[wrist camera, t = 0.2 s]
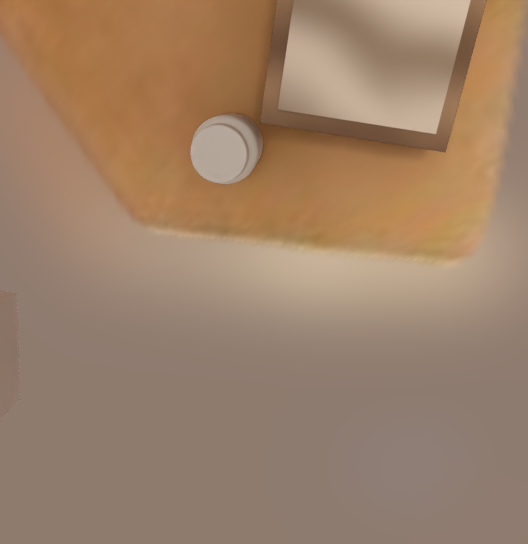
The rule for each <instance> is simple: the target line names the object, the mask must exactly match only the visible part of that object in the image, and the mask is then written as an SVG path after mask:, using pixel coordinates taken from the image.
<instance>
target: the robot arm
mask: <svg viewBox="0 0 528 544" xmlns="http://www.w3.org/2000/svg"><path fill="white" fill-rule="evenodd" d="M18 349H19V348H18V320H17V294H16V293H11V292H5V291H0V420H1V419H2V418H3V417H4V416H5V415H6V414H7V413H8V412H9V410H10V409H11V408H12V407H13V406H14V405H15V404H16V403H17V402H18V401H19V400H20V379H19V350H18Z"/></svg>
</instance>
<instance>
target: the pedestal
mask: <svg viewBox="0 0 528 544" xmlns="http://www.w3.org/2000/svg"><path fill="white" fill-rule="evenodd" d="M486 1H487V0H277V3H276V10H275V17H274V25H273V32H272V39H271V46H270V54H269V61H268V68H267V75H266V83H265V90H264V97H263V104H262V112H261V119H260V123H262V124H269V125H275V126H281V127H288V128H294V129H300V130H307V131H313V132H319V133H326V134H332V135H339V136H345V137H351V138H358V139H364V140H370V141H377V142H383V143H389V144H396V145H402V146H408V147H415V148H421V149H428V150H434V151H440V152H446V149H447V145H448V141H449V138H450V134H451V130H452V127H453V123H454V119H455V116H456V112H457V108H458V104H459V101H460V97H461V93H462V90H463V86H464V82H465V78H466V75H467V71H468V67H469V64H470V60H471V56H472V53H473V49H474V45H475V41H476V38H477V34H478V30H479V27H480V23H481V19H482V15H483V12H484V8H485V4H486Z"/></svg>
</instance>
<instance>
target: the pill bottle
mask: <svg viewBox="0 0 528 544" xmlns="http://www.w3.org/2000/svg"><path fill="white" fill-rule="evenodd" d="M262 151H263V138H262V135H261V132H260V130H259V128H258V127H257V125H256V124H255V123H254V122H253V121H252V120H251V119H249V118H248V117H246V116H244V115H241V114H236V113H230V114H223V115H218V116H214V117H212V118H209V119H207V120H206V121H204V122H203V123H202V124H201V125H200V126H199V127H198V129H197V130H196V132H195V134H194V136H193V139H192V144H191V151H190V153H191V161H192V164H193V166H194V168H195V170H196V171H197V172H198V173H199V175H201V176H202V177H203V178H204V179H206V180H208V181H211V182H214V183H218V184H232V183H236V182H239V181H241V180H242V179H244V178H245V177H247V176H248V175H249V174H250V173H251V172H252V170H253V169H254V167H255V166H256V164H257V163H258V161H259V159H260V157H261V155H262Z"/></svg>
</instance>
